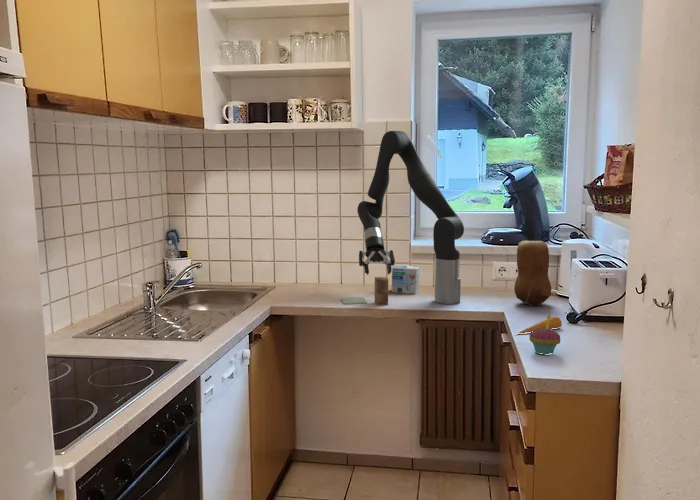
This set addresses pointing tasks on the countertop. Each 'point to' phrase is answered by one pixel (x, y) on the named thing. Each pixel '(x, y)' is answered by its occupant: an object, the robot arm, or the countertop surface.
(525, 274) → the butternut squash
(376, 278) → the walnut block
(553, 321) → the carrot
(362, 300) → the coaster
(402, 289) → the light bulb box
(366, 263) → the robot arm
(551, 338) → the cupcake
